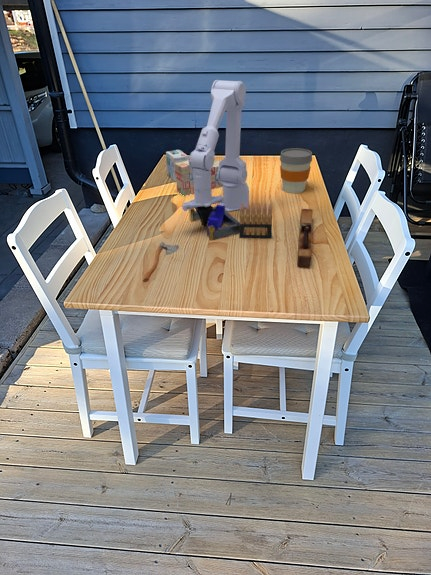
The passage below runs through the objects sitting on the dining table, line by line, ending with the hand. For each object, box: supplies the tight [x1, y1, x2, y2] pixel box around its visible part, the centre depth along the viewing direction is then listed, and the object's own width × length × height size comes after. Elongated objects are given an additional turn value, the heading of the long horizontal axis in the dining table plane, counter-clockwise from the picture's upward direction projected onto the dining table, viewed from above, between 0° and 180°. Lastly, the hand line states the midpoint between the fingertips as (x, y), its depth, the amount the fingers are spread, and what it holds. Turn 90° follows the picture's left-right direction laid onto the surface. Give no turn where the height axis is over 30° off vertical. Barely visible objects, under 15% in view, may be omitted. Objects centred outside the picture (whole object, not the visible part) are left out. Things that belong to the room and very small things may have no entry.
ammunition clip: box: [238, 202, 273, 240], centre depth 138 cm, size 11×2×12 cm, turn 85°
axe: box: [142, 241, 180, 283], centre depth 129 cm, size 22×6×2 cm, turn 173°
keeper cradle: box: [188, 205, 240, 241], centre depth 147 cm, size 12×18×4 cm, turn 26°
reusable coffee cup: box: [279, 147, 313, 194], centre depth 171 cm, size 13×13×15 cm
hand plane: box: [296, 208, 313, 269], centre depth 135 cm, size 34×5×10 cm, turn 171°
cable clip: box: [206, 204, 226, 237], centre depth 145 cm, size 12×4×6 cm, turn 166°
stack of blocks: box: [175, 159, 223, 197], centre depth 176 cm, size 21×6×12 cm, turn 122°
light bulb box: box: [165, 149, 189, 183], centre depth 188 cm, size 11×7×11 cm, turn 25°
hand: (204, 225), depth 147 cm, fingers closed
